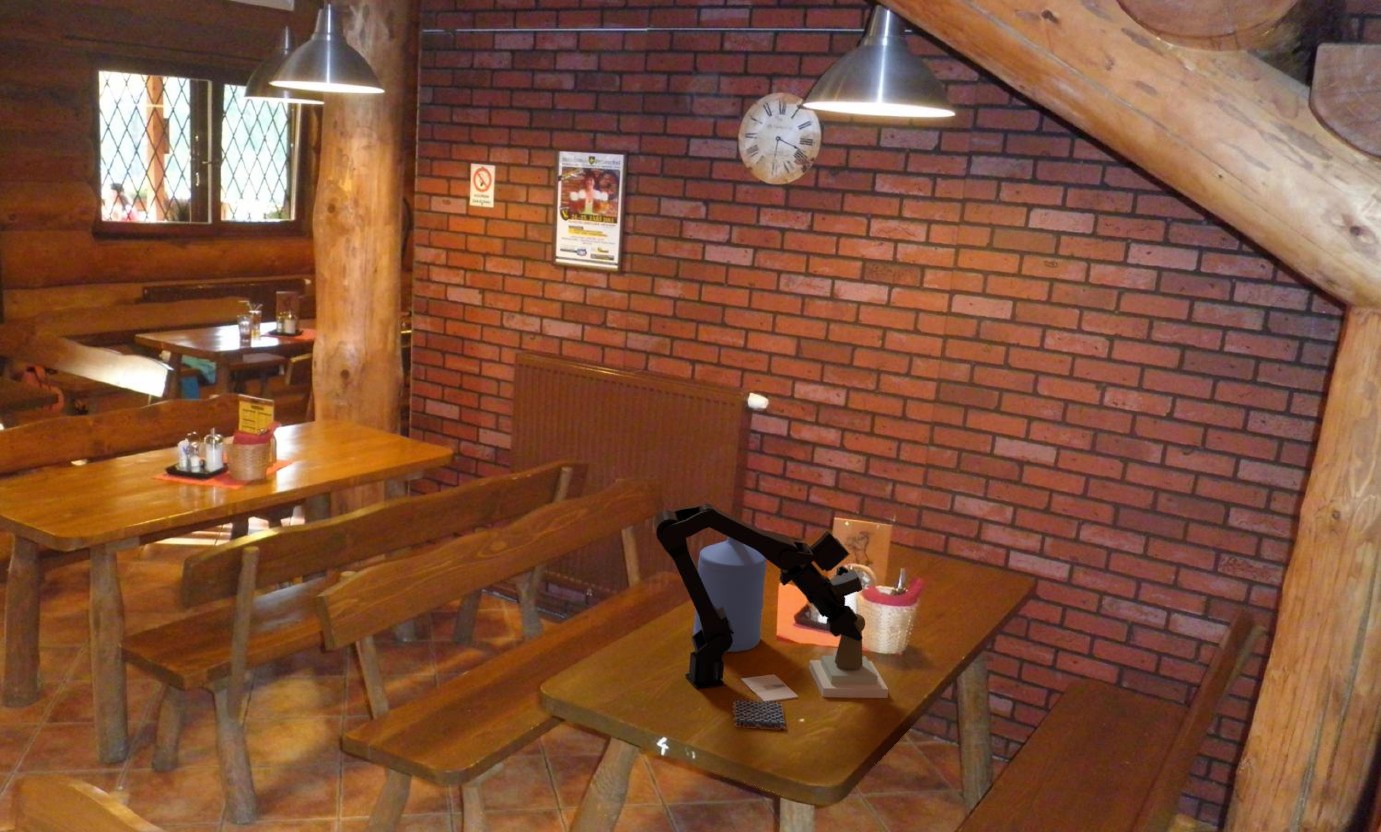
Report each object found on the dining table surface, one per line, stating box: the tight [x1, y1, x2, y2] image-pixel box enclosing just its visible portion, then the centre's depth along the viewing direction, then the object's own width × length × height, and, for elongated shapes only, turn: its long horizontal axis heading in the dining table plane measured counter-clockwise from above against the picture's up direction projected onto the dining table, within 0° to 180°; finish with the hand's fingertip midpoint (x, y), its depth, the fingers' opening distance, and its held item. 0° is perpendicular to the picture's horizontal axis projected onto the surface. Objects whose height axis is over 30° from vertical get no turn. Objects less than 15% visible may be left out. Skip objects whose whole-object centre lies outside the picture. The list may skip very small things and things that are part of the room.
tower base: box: [808, 655, 889, 699], centre depth 255 cm, size 14×14×4 cm
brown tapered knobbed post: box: [835, 612, 866, 669], centre depth 253 cm, size 6×6×11 cm
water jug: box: [692, 536, 767, 653], centre depth 271 cm, size 16×16×28 cm
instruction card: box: [740, 674, 799, 703], centre depth 250 cm, size 8×11×1 cm
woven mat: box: [732, 698, 787, 731], centre depth 237 cm, size 10×11×2 cm
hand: (857, 634), depth 253 cm, fingers closed on brown tapered knobbed post, 5 cm apart
